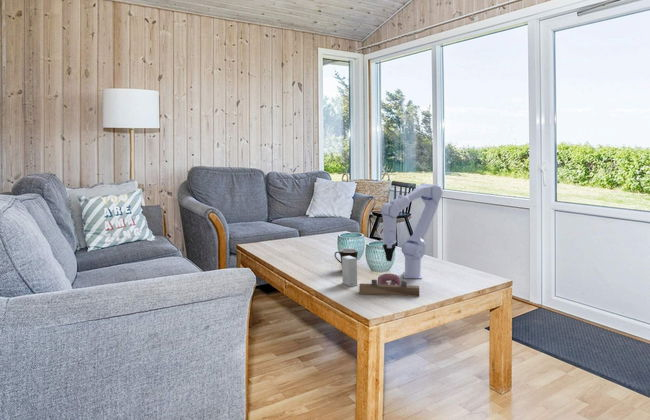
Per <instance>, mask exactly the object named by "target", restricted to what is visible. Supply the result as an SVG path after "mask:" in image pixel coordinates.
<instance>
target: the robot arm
mask: <svg viewBox="0 0 650 420" xmlns="http://www.w3.org/2000/svg"><path fill="white" fill-rule="evenodd" d="M442 190H443V189H442V187H441V185H439V184H432V183H430V184H429V183H424V182H422V183H420V184H418V185H417V187H416V188H415V189H413V190H412V191H410V192H409V193H408V194H405V195H403V194H402V195H400V194H399V195H398V196H397V198H395V199H393V200H392V199H391V200H390V202H389V203H388V202H385V203H384V204H383V205H381V208H380V210H379V211H380V214H381V216H382V239H380V241H379V242H380V243H383V244H382V248H383V250H384V253H385V260H386V262H392V260H393V255H394V252H395V249H396V246H397V245H396V243H397V217H398V216H399V214H400V212H401V211H403V210H405V209H406V208H408V207H409V206H410V203H412V202H413V201H416V200H417V199H419V198H420V199H421V201H422V202H423V203H424V208H423V210H422V212H421V213H420V217H419V219H418V221H417V224H416V226H415V229H414V231H413V233H412V235H411V236H408V237H407V238H406V240H405V242H403V243H402V245H401V253H402V254H403V257H404V271H403V272H402V273H403V278H404V279H421V280H422V278H423V277H422V273H421V271H422V269H421V267H422V263H421V262H422V259H423V257H424V256H425V254H426V253H425V252H426V247H427V243H426V242H425V237H426V235H427V233H428V230H429V228H430V226H431V224H432V222H433V219H434V216H435V214H436V212H437V210H438V207H439V203H440V200H441V197H442V195H443V191H442Z"/></svg>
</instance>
